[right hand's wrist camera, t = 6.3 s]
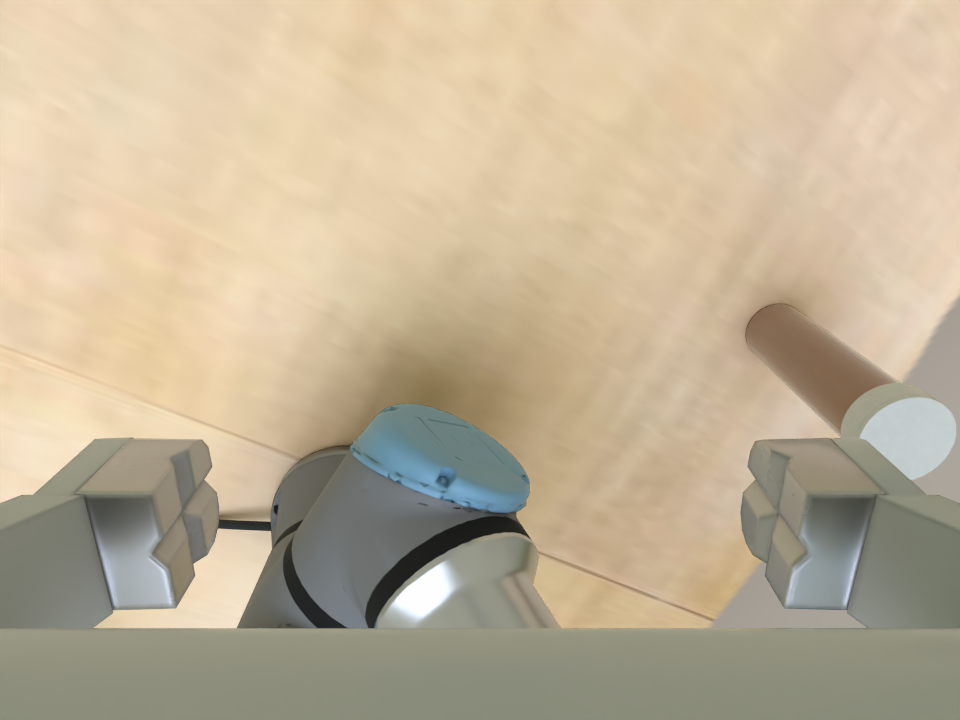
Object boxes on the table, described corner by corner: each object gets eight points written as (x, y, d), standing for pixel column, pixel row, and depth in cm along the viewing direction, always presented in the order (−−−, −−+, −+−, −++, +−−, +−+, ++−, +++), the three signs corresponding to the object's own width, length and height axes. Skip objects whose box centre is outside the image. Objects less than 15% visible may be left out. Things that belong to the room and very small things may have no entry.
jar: (780, 367, 62) (906, 486, 43) (733, 342, 61) (843, 452, 42) (816, 320, 60) (963, 422, 42) (768, 293, 59) (898, 386, 41)
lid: (891, 478, 45) (911, 496, 43) (821, 441, 44) (837, 458, 42) (953, 407, 43) (977, 423, 41) (881, 366, 42) (902, 381, 40)
